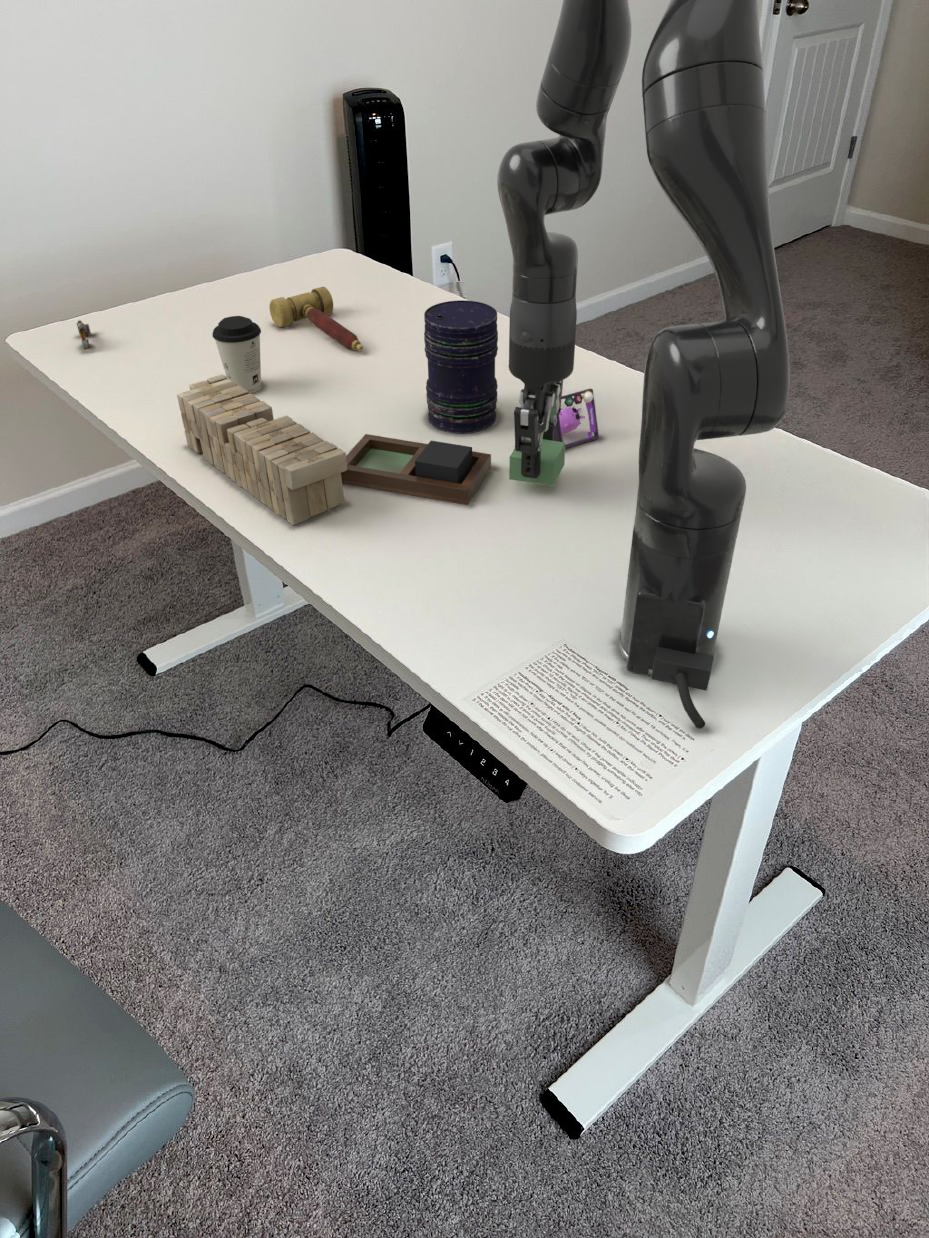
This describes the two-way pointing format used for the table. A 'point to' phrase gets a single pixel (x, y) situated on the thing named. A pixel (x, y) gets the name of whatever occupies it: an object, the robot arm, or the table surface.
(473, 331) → the navy oil drum
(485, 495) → the table surface
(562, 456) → the sage pad
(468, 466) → the charcoal pad
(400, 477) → the divided wooden tray
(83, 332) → the wooden post with brackets
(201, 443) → the block tower
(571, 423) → the game card
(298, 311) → the gavel
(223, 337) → the coffee cup
